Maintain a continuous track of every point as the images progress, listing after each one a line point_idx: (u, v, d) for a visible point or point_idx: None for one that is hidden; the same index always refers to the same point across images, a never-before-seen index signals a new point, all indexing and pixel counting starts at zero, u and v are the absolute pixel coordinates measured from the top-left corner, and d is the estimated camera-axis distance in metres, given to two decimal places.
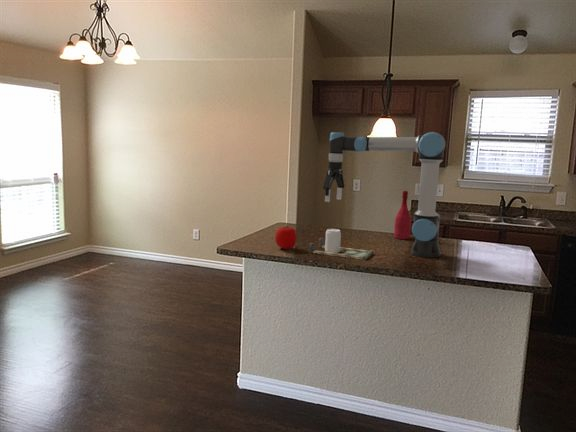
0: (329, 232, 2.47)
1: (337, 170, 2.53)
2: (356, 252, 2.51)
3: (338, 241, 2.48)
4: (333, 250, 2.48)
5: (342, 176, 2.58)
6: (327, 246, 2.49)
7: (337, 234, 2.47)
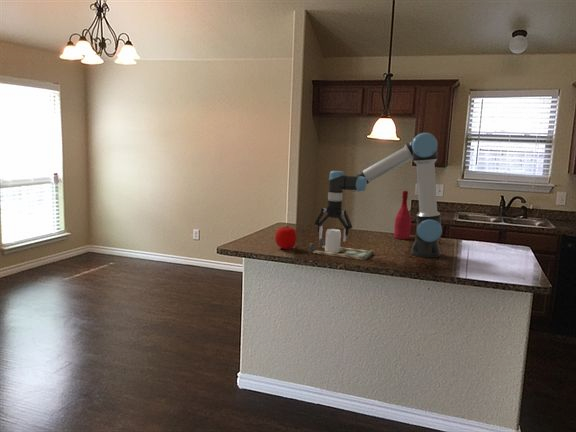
0: (329, 232, 2.47)
1: (335, 209, 2.47)
2: (356, 252, 2.51)
3: (338, 241, 2.48)
4: (333, 250, 2.48)
5: (346, 217, 2.45)
6: (327, 246, 2.49)
7: (337, 234, 2.47)
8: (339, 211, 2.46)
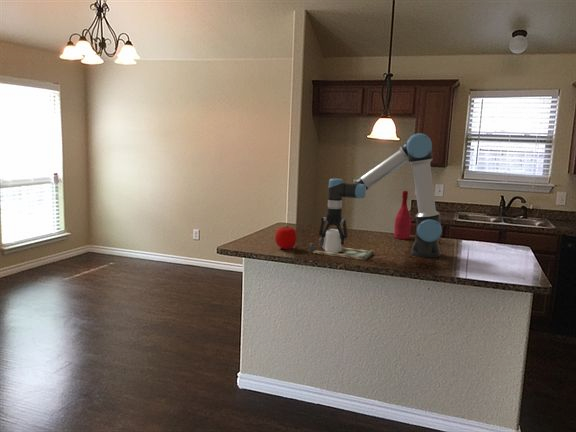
0: (329, 232, 2.47)
1: (335, 217, 2.48)
2: (356, 252, 2.51)
3: (338, 241, 2.48)
4: (333, 250, 2.48)
5: (344, 226, 2.46)
6: (327, 246, 2.49)
7: (337, 234, 2.47)
8: (339, 219, 2.47)
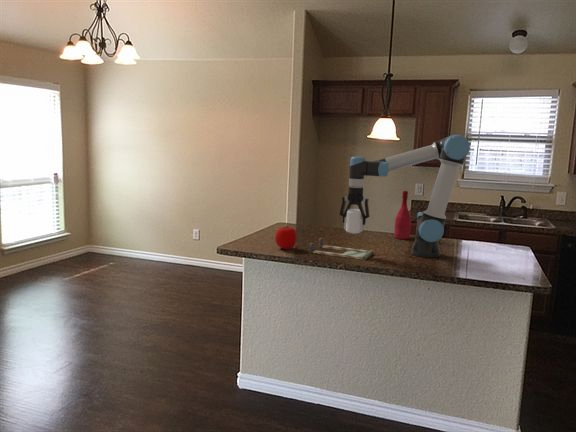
0: (350, 211, 2.41)
1: (356, 196, 2.41)
2: (356, 252, 2.51)
3: (359, 221, 2.42)
4: (354, 230, 2.42)
5: (366, 205, 2.40)
6: (348, 226, 2.43)
7: (359, 213, 2.41)
8: (361, 198, 2.41)
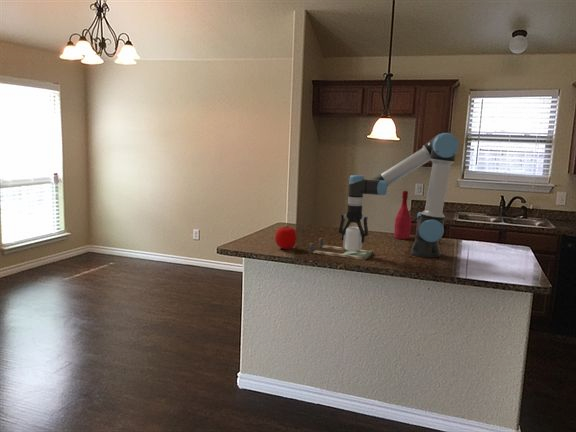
0: (349, 229, 2.43)
1: (355, 214, 2.43)
2: (356, 252, 2.51)
3: (358, 239, 2.43)
4: (353, 248, 2.43)
5: (365, 224, 2.42)
6: (347, 244, 2.44)
7: (358, 231, 2.42)
8: (360, 216, 2.42)
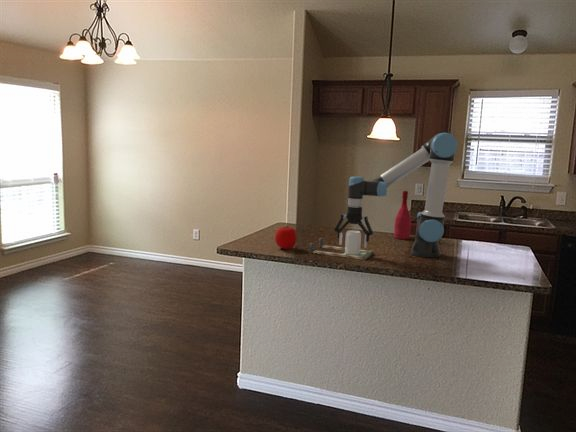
0: (349, 234, 2.43)
1: (355, 215, 2.43)
2: None
3: (358, 243, 2.44)
4: (353, 252, 2.43)
5: (366, 223, 2.41)
6: (347, 248, 2.45)
7: (357, 236, 2.43)
8: (359, 217, 2.42)
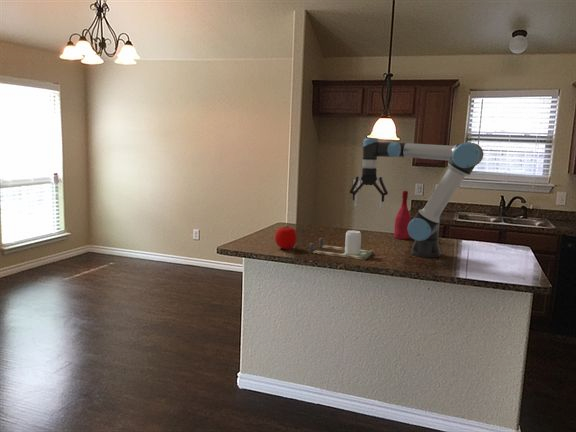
0: (349, 234, 2.43)
1: (370, 176, 2.49)
2: None
3: (358, 243, 2.44)
4: (353, 252, 2.43)
5: (381, 183, 2.47)
6: (347, 248, 2.45)
7: (358, 236, 2.43)
8: (374, 178, 2.48)
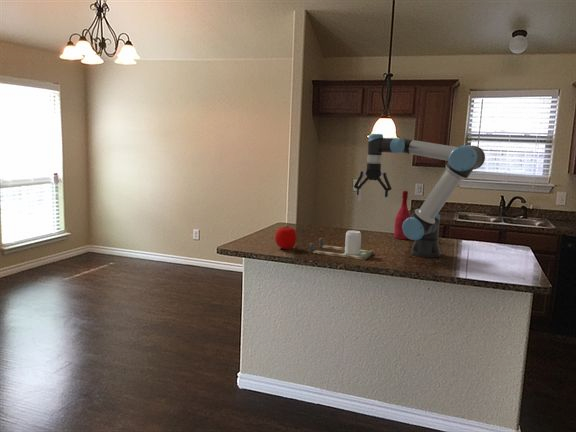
0: (349, 234, 2.43)
1: (374, 172, 2.52)
2: None
3: (358, 243, 2.44)
4: (353, 252, 2.43)
5: (385, 179, 2.50)
6: (347, 248, 2.45)
7: (358, 236, 2.43)
8: (378, 173, 2.51)
